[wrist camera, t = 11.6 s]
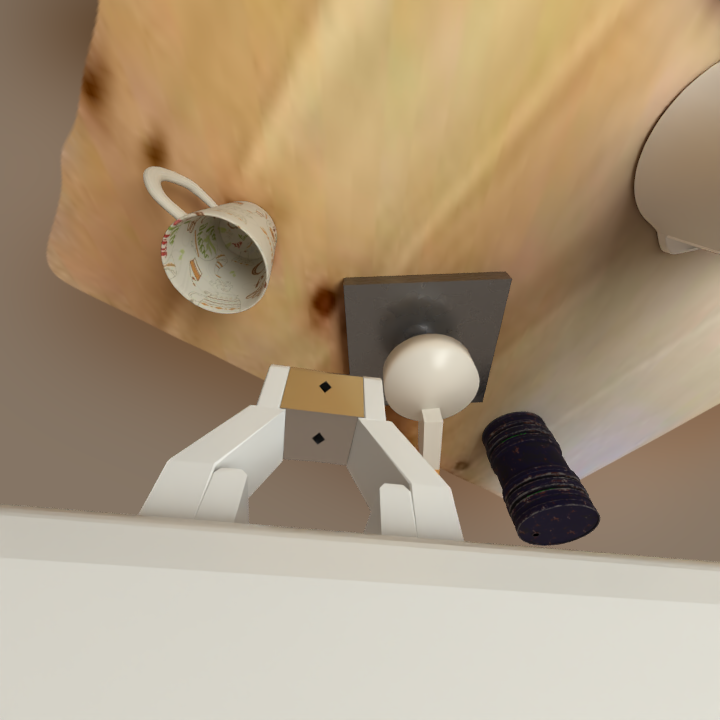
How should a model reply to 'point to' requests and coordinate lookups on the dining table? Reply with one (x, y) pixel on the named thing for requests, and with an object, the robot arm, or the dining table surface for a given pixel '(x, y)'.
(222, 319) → the dining table surface
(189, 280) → the mug
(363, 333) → the plate
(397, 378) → the white handled oval piece
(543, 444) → the dark blue ribbed cylinder
